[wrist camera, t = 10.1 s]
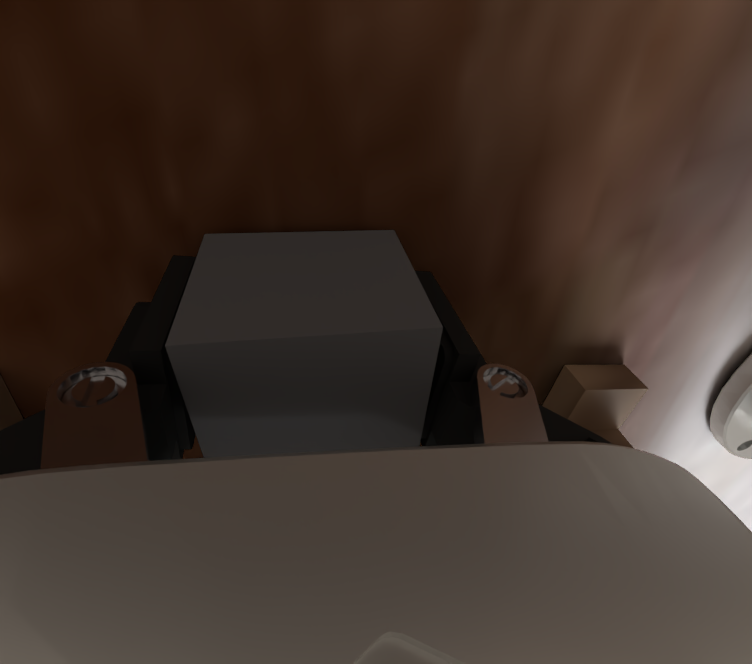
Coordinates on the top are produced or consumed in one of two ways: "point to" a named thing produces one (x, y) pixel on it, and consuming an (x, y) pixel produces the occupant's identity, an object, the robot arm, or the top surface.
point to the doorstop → (304, 343)
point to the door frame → (567, 398)
